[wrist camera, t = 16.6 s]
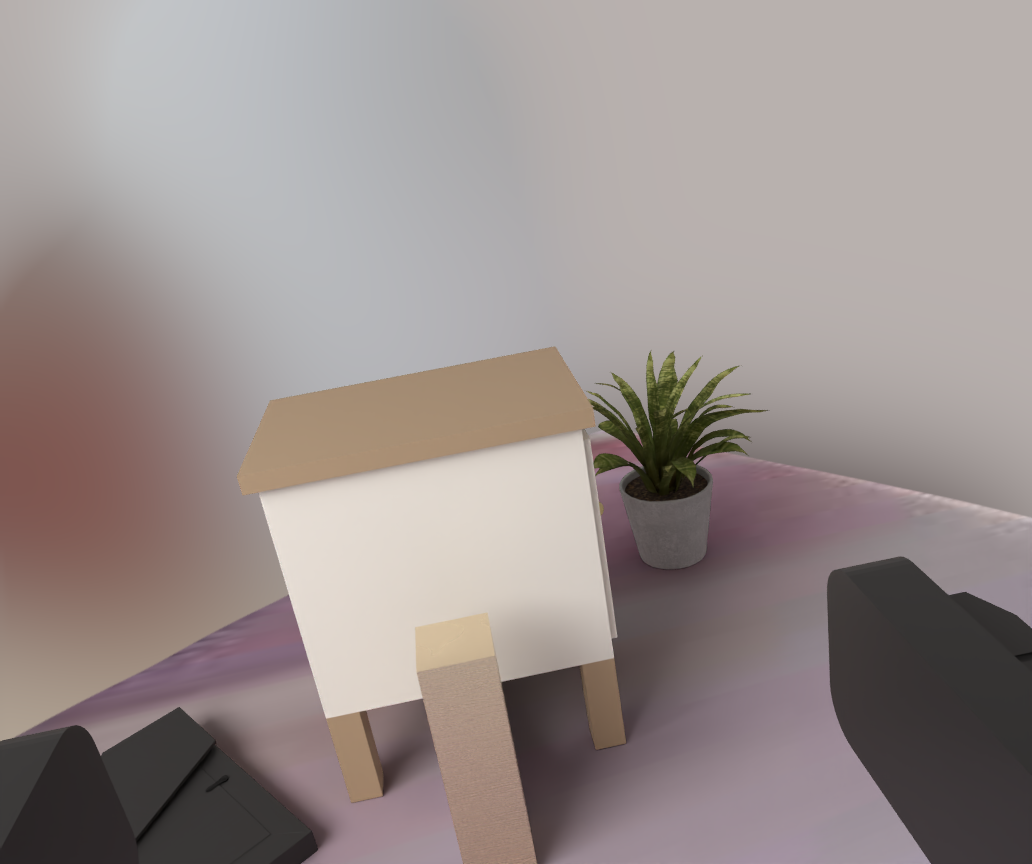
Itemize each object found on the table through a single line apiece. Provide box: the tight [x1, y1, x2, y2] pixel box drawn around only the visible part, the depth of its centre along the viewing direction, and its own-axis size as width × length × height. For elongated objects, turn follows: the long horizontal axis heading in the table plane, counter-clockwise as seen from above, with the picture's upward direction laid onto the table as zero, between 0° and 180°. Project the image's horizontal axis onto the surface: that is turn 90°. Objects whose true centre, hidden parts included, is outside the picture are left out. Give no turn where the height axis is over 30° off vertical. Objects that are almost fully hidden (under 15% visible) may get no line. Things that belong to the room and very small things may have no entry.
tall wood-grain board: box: [415, 613, 537, 864], centre depth 50 cm, size 4×20×13 cm, turn 7°
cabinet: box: [237, 347, 626, 803], centre depth 51 cm, size 18×11×21 cm, turn 97°
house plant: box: [588, 352, 766, 569], centre depth 65 cm, size 14×14×16 cm
